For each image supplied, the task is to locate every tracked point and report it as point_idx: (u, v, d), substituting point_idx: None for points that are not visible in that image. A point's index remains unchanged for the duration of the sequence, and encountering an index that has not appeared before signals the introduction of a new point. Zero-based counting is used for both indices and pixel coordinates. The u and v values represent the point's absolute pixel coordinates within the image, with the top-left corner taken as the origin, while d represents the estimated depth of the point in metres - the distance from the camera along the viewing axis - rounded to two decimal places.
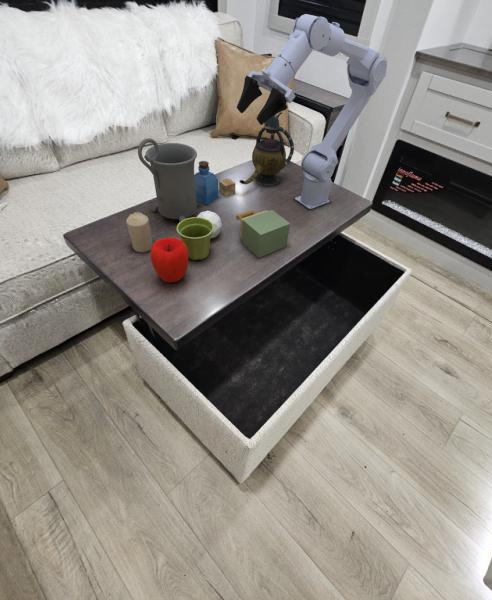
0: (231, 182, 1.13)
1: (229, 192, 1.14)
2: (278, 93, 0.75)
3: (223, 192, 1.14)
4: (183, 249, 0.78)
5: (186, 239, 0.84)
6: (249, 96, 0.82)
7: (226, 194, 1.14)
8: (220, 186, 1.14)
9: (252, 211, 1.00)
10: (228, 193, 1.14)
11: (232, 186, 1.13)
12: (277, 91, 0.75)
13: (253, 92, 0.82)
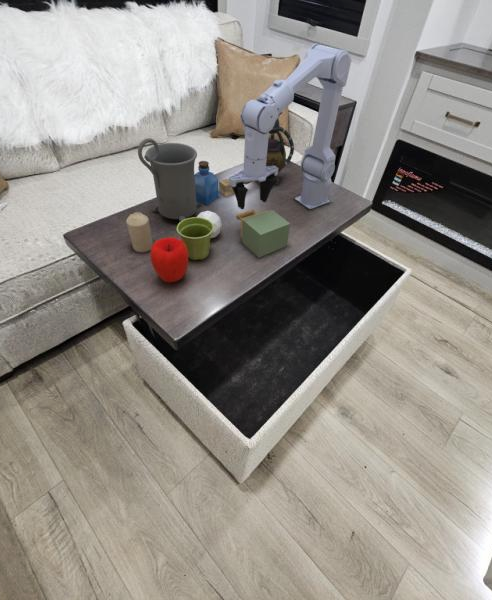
0: None
1: (229, 192, 1.14)
2: (276, 180, 0.90)
3: (223, 192, 1.14)
4: (183, 249, 0.78)
5: (186, 239, 0.84)
6: None
7: (226, 194, 1.14)
8: (220, 186, 1.14)
9: (252, 211, 1.00)
10: (228, 193, 1.14)
11: None
12: (276, 180, 0.90)
13: None
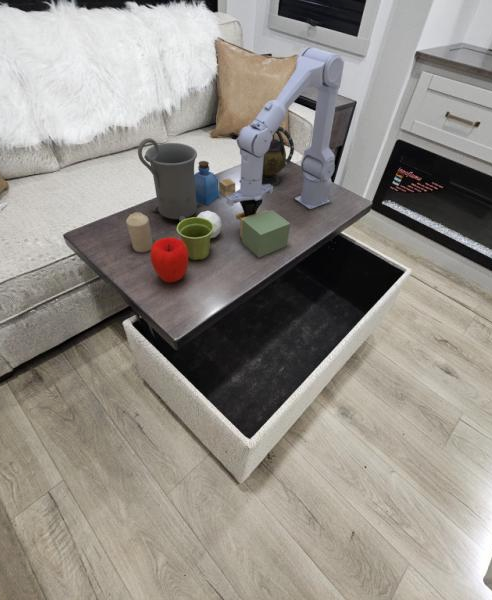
0: (231, 182, 1.13)
1: (229, 192, 1.14)
2: None
3: (223, 192, 1.14)
4: (183, 249, 0.78)
5: (186, 239, 0.84)
6: None
7: (226, 194, 1.14)
8: (220, 186, 1.14)
9: None
10: (228, 193, 1.14)
11: (232, 186, 1.13)
12: (261, 201, 0.93)
13: None
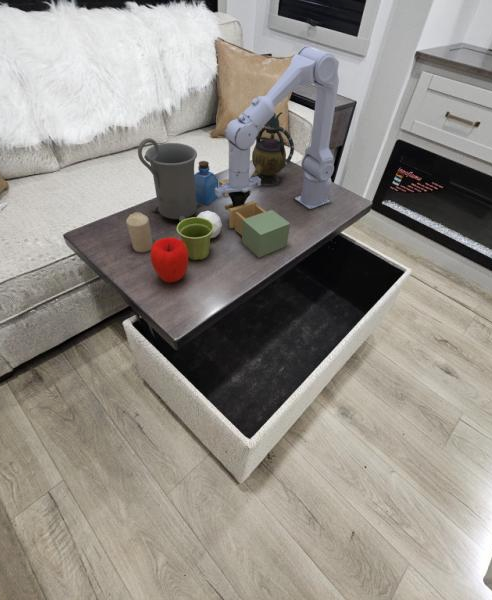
0: None
1: None
2: (249, 193, 0.97)
3: None
4: (183, 249, 0.78)
5: (186, 239, 0.84)
6: None
7: (226, 194, 1.14)
8: None
9: None
10: None
11: None
12: (249, 193, 0.97)
13: None
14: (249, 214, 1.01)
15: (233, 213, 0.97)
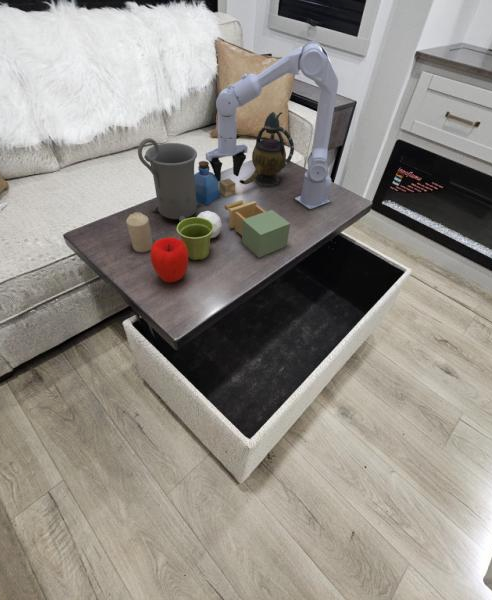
0: (231, 182, 1.13)
1: (229, 192, 1.14)
2: None
3: (223, 192, 1.14)
4: (183, 249, 0.78)
5: (186, 239, 0.84)
6: (235, 163, 1.11)
7: (226, 194, 1.14)
8: (220, 186, 1.14)
9: (240, 202, 1.03)
10: (228, 193, 1.14)
11: (232, 186, 1.13)
12: None
13: (236, 159, 1.10)
14: (249, 214, 1.01)
15: (233, 213, 0.97)
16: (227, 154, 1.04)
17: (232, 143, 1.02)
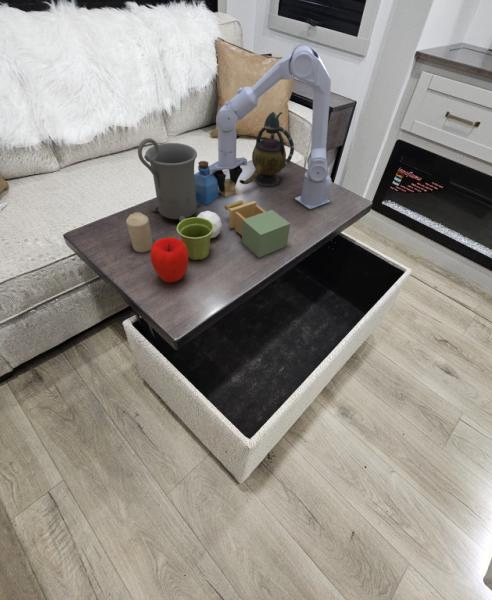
0: (231, 182, 1.13)
1: (228, 192, 1.14)
2: None
3: (223, 192, 1.14)
4: (183, 249, 0.78)
5: (186, 239, 0.84)
6: (232, 176, 1.13)
7: (226, 194, 1.14)
8: None
9: (240, 202, 1.03)
10: (228, 193, 1.14)
11: (232, 186, 1.13)
12: None
13: (232, 173, 1.12)
14: (249, 214, 1.01)
15: (233, 213, 0.97)
16: (227, 167, 1.07)
17: (232, 156, 1.05)
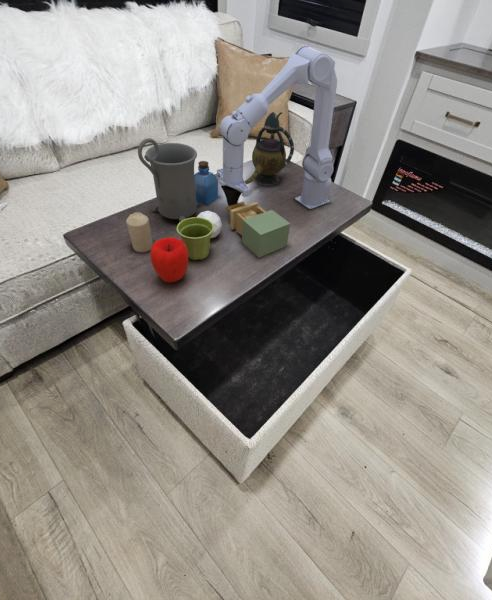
0: None
1: (249, 216, 0.96)
2: (230, 192, 0.97)
3: None
4: (183, 249, 0.78)
5: (186, 239, 0.84)
6: None
7: None
8: None
9: (242, 203, 1.02)
10: (250, 216, 0.96)
11: (250, 212, 0.98)
12: (228, 192, 0.97)
13: None
14: None
15: (234, 214, 0.97)
16: (243, 179, 0.97)
17: None
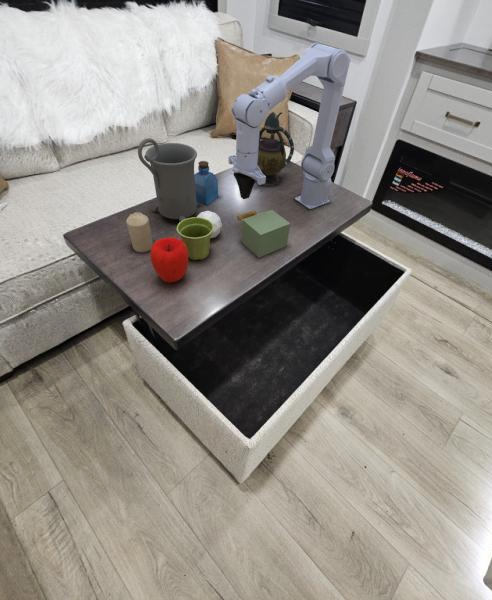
0: None
1: None
2: (243, 181, 0.89)
3: None
4: (183, 249, 0.78)
5: (186, 239, 0.84)
6: None
7: None
8: None
9: (253, 212, 0.99)
10: None
11: None
12: (242, 180, 0.88)
13: None
14: None
15: None
16: None
17: None
